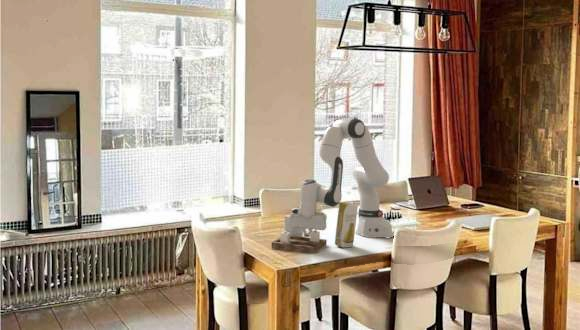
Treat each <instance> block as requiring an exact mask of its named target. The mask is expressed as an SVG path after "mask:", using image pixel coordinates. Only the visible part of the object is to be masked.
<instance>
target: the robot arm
mask: <svg viewBox="0 0 580 330" xmlns="http://www.w3.org/2000/svg"><path fill="white" fill-rule="evenodd" d="M345 139H351V143H352V147H353V151H354V154H355V155H354V156H355V158H356V160H357V162H358V163H359V165H357V166H355V167H354V169H353V171H352V176H353V179H354V180H355V181H356V184H357V187H358V191H359V192H358V193H359V208H358V214H357V215H358V222H357V228H356V230H355V233H356V234H357V235H359V236H361V237H363V236H364V238H376V237H393V235H394V232H395V231H393V227H392V224H391V222H390V221H389V220H387V219H386V218H385V217H384V216H383V215H384V214H383V212H384V210H381V209H380V195H379V193H378V191H377V188H380V187H385V186H387V184H388V182H389V181H390V176H389V173H388V171H387V170H386V169H385V168H384V167H383V165H382V164H381V162H380V160H379V157H378V156H377V153H376V149H375V146H374V142H373V138H372V135H371V133H370V130H369V128H368V126H366V125H365V124H364V121H362V120H361V119H359V118H352V117H347V118H346V117H345V118H335V119H333V120H332V121H331V122H330V125H329V126H328V127H327V128H326V130H325V132H324V134H323V136H322V139H321V143H320V147H319V157H320V159H321V160H322V161H323V162H324V163H325V164H326V165H328V166H329V168H330V169H331V176H330V177H331V179H330V186H327V185H324V184H323V185H322V184H319V183H318V182H317V180H315V179H305V180H304V181H302V182H301V186H300V190H299V191H300V192H299V193H300V194H299V198H300V202H299V206H297V207H294V208H292V209H291V210H290V214H289V215H290V217H289V225H290V226H291V227H299V228H302V231H303V237H308V238H310V232H311V231H313V230H317V231H325V230H326V229H327V217H328V216H327V214H326V213H325V212H323V211H322V212H321V211H317V207H318V205H317V203H318V204H320V205H321V204H322V205H326V206H328V207H332V208H333V207H335V206H338V205H339V203H341V201H342V184H343V183H342V181H343V169H344V163H343V162H344V161H343V159H342V158H341V150H342V146H343V141H344V140H345ZM307 229H308V232H307V231H306V230H307ZM393 238H394V237H393Z"/></svg>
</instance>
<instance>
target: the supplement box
mask: <svg viewBox="0 0 580 330" xmlns="http://www.w3.org/2000/svg"><path fill="white" fill-rule="evenodd" d="M290 215H291V214H287V215H284V232H285V231H287V232H289V233H290V235H293V236H299V237H304V232H303V231H302V228H299V227H291V226H290V225H289V217H290Z"/></svg>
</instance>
